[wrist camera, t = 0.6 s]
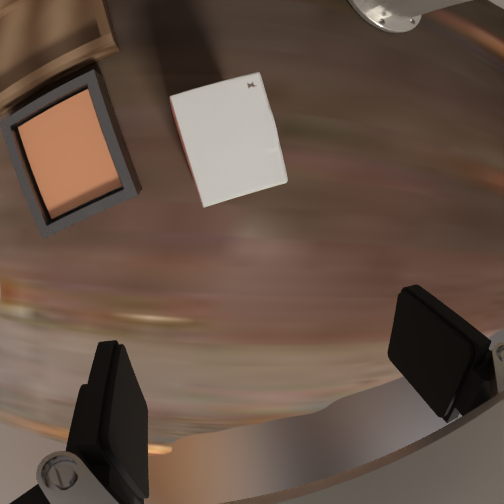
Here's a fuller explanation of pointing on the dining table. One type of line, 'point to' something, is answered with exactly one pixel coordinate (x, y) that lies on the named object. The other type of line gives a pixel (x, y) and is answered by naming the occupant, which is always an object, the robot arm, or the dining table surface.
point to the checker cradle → (113, 139)
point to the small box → (229, 138)
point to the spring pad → (69, 154)
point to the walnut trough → (49, 43)
